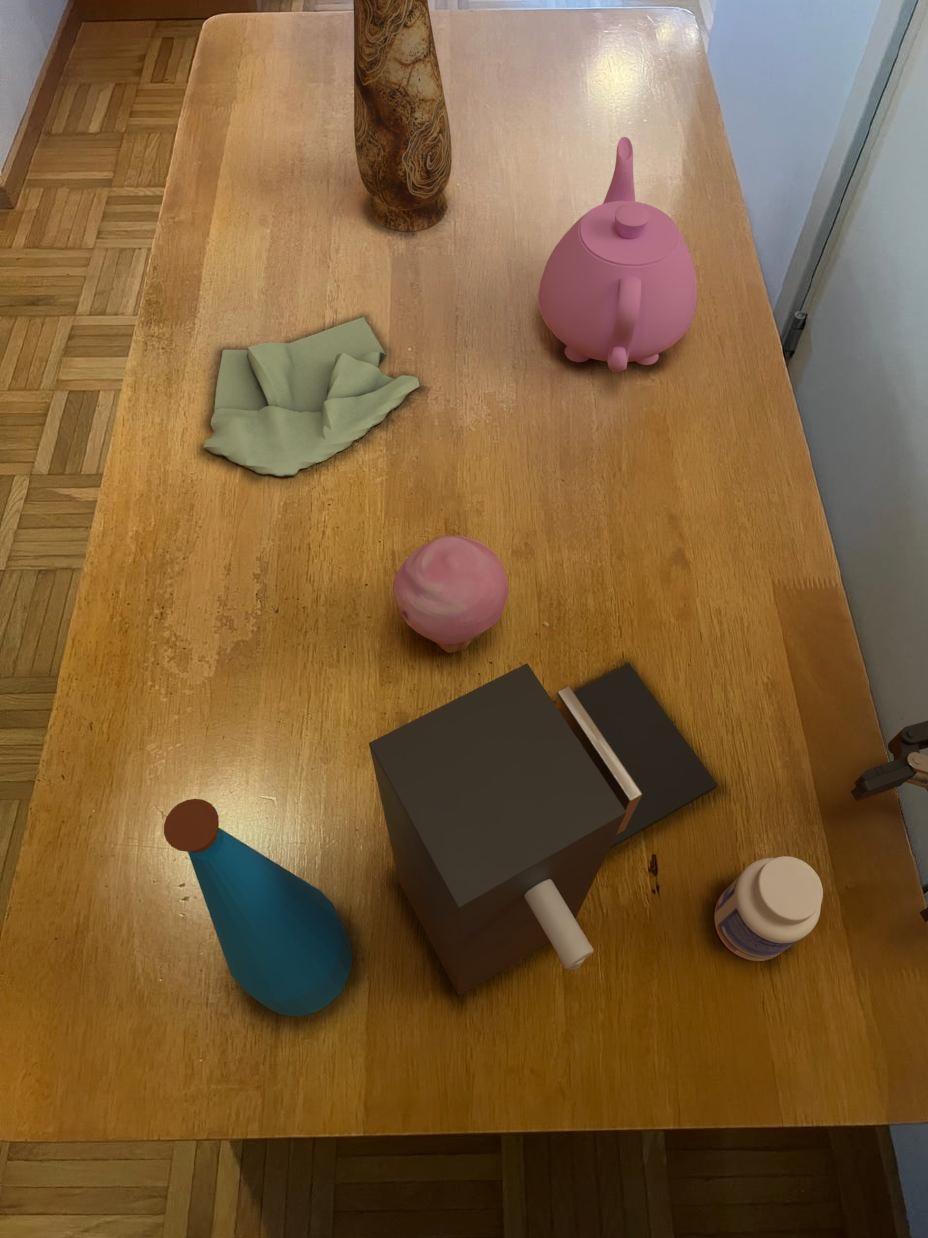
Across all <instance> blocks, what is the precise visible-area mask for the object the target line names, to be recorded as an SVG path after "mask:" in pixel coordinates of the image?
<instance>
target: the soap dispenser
mask: <svg viewBox="0 0 928 1238" xmlns="http://www.w3.org/2000/svg"><path fill="white" fill-rule="evenodd" d="M368 747H369V750H370V757H371V760H372V764H373V769H374V774H375V779H376V783H377V788H378V792H379V796H380V797H379V798H380V802H381V805H382V811H383V815H384V819H385V824H386V829H387V834H388V838H389V842H390V847H391V851H392V857H393V860H394V861H393V862H394V865H395V869H396V875H397V880H398V883H399V885H400V887H401V889H402V890H403V892H404V894H405V896H406V898H407V900H408V902H409V904H410V906H411V908H412V909H413V912H414V913H415V915H416V917H417V919H418V921H419V923H420V925H421V927H422V929H423V931H424V933H425V935H426V937H427V938H428V940H429V942H430V945H431V946H432V948H433V950H434V952H435V954H436V956H437V959H438V960H439V962H440V964H441V965H442V967H443V969H444V971H445V974H446V975H447V977H448V979H449V982H450V983H451V985H452V986H453V989H454V991H455V993H456V995H457V996H458V997H461V996H462V995H464V994H466V993H468V992H469V991H472V990H473V989H475V988H476V987H477V986H479V985H481V984H483V983H484V982H486V981H487V980H489V979H492V977H494V976H496V975H498V974H499V973H501V972H503V971H504V970H506V969H508V968H510V967H511V966H513V965H514V964H516V963H518V962H519V961H521V960H523V959H524V958H526V957H529V956H530V955H531V954H533V953H535V952H536V951H538V950H540V949H542V948H543V947H545V946H546V945H548V944H551V945H552V947H553V949H554V951H555V952H556V954H557V956H558V959H559V963H560V964H561V966H562V967H563V968H565V969H566V970H569V971H575V970H578V969H579V968H580V967H581V966H582V965H583V963H584V961H585V960H586V959H587V958H588V957H591V955H592V954H593V953H594V948H593V946H592V945H591V943H590V941H589V940H588V938H587V937H586V935H585V933H584V932H583V930H582V928H581V926H580V925H579V923H578V921H577V920H576V918H577V916H578V914H579V912H580V910H581V908H582V906H583V904H584V902H585V899H586V897H587V896H588V893H589V891H590V889H591V887H592V885H593V883H594V881H595V879H596V877H597V874H598V873H599V871H600V869H601V866H602V865H603V862H604V860H605V859H606V856H607V854H608V852H609V850H610V849H609V848H610V846H611V844H612V842H613V840H614V838H615V836H616V834H617V831H618V829H619V827H620V825H621V823H622V821H623V819H624V817H625V815H626V813H627V812H626V810H625V809H624V807H623V806H622V804H621V803H620V801H619V800H618V798H617V797H616V795H615V794H614V792H613V791H612V789H611V788H610V786H609V785H608V783H607V782H606V780H605V779H604V777H603V776H602V774H601V773H600V771H599V770H598V768H597V767H596V765H595V764H594V762H593V761H592V759H591V758H590V756H589V755H588V753H587V752H586V750H585V749H584V747H583V746H582V744H581V743H580V741H579V740H578V738H577V737H576V735H575V734H574V732H573V731H572V729H571V728H570V726H569V725H568V723H567V722H566V720H565V719H564V717H563V716H562V714H561V713H560V711H559V710H558V708H557V707H556V705H555V704H554V701H553V699H552V698H551V696H550V695H549V694H548V691H547V690H546V688H545V687H544V685H543V684H542V683H541V681H540V680H539V679H538V677H537V676H536V674H535V673H534V670H532V668H531V667H530V665H529V663H525V664H522V665H521V666H518V667H517V668H514V669H513V670H511V671H508V672H507V673H505V674H503V675H501V676H499V677H497V678H495V679H492V680H490V681H489V682H487V683H485V684H483V685H481V686H479V687H476V688H475V689H473V690H471V691H469V692H467V693H465V694H463V695H461V696H459V697H457V698H455V699H453V700H451V701H449V702H447V703H445V704H443V705H441V706H439V707H438V708H436V709H433V710H431V711H429V712H427V713H425V714H424V715H421V716H419V717H418V718H416V719H414V720H413V719H412V720H411V721H409V722H408V723H405V724H403V725H402V726H400V727H398V728H396V729H393V730H392V731H390V732H388V733H386V734H383V735H382V736H380V737H377V738H376V739H373V740H372V741H370V742H369V743H368Z"/></svg>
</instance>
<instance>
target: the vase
mask: <svg viewBox="0 0 928 1238" xmlns="http://www.w3.org/2000/svg"><path fill="white" fill-rule="evenodd" d="M352 1H353V136H354V147H355V156H356V164H357V168H358V172H359V177H360V179H361V182H362V184H363V187H364V188H365V190H366V192H367V193H368V194H369V196H370V197H371V201H370V204H369V210H370V214H371V216H372V218H373V220H374V221H376V222H377V223H378V224H379V225H381V226H382V227H385V228H387V229H391V230H395V231H399V232H414V231H421V230H426V229H428V228H430V227H432V226H434V225H436V224H438V222H440V221H441V219H443V217H444V216H445V215H446V213H447V212H448V207H449V206H448V205H449V204H448V198H447V196H446V195H445V193H444V191H445V190H446V188H447V186H448V184H449V180H450V178H451V172H452V161H453V152H452V151H453V150H452V135H451V127H450V120H449V114H448V109H447V103H446V98H445V92H444V85H443V81H442V76H441V70H440V65H439V59H438V55H437V49H436V43H435V38H434V31H433V27H432V20H431V15H430V8H429V2H428V0H352Z"/></svg>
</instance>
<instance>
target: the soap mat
mask: <svg viewBox="0 0 928 1238" xmlns="http://www.w3.org/2000/svg"><path fill="white" fill-rule="evenodd" d="M640 677H641V676H639V674H638V673H637V672H636V670H635V669H634V667H633V666H632V665H631V664H630V662H628V663H625V664H623V665H622V666H620V667H617V668H616V669H614V670H611V671H610V672H607V674H605V675H602V676H601V677H599V678H597V679H595V680H593V681H591V682H589V683H587V684H585V685H583V686H581V687H579V688H577V689H576V690H575V689H574V690H573V693H574V694H575V696H576V697H577V699H578V700H579V702H580V703H581V704H582V706H583V707H584V709H585V710H586V712H587V713H588V715H589V716H590V718H591V719H592V721H593V722H594V724H595V725H596V726H597V728H598V729H599V731H600V732H601V734H602V735H603V737H604V738H605V740H606V741H607V743H608V744H609V746H610V747H611V748H612V750H613V751H614V753H615V754H616V756H617V757H618V759H619V760H620V762H621V763H622V765H623V766H624V768H625V769H626V770H627V772H628V773H629V775H630V776H631V778H632V779H633V781H634V782H635V784H636V785H637V787H638V788H639V790H640V791H641V792H642V796H641V798H640V800H639V802H638V804H637V806H636V808H635V810H634V812H633V814H632V816H631V818H630V820H629V822H628V824H627V826H626V828H625V830H624V831H622V832H621V833H619V834H617V835H616V836H615V838H614V840H613V842H612V844H611V846H610V848H609V850H610V849H612V848H614V847H616V846H618V845H620V844H621V843H623V842H624V841H626V840H628V839H630V838H631V837H633V836H635V835H636V834H638V833H640V832H642V831H644V830H646V829H647V828H648V827H650V826H653V825H654V824H656V823H657V822H660V821H661V820H662V819H665V818H666V817H668V816H669V815H671V814H673V813H675V812H676V811H678V810H680V809H681V808H683V807H685V806H687V805H689V804H690V803H692V802H694V801H696V800H697V799H699V798H701V797H703V796H704V795H706V794H708V793H709V792H712V791H713V790H715V789H716V788H717V786H718V783H717V782H716V780H715V779H714V777H713V776H712V775H711V774H710V772H709V771H708V769H707V768H706V767H705V765H704V764H703V762H702V761H701V760H700V758H699V757H698V756H697V754H696V753H695V751H694V750H693V749H692V747H691V746H690V745H689V743H688V742H687V740H686V739H685V738H684V736H683V735H682V733H681V732H680V731H679V729H678V728H677V727H676V725H675V724H674V722H673V721H672V720H671V718H670V717H669V715H668V714H667V713H666V712H665V709H663V707H662V706H661V705H660V703H659V702H658V700H657V699H656V698H655V696H654V695H653V694H652V692H651V691H650V690H649V688H648V687H647V685H646V684H645V683H644V681H643V680H642V679H641V678H640ZM553 702H554V703H555V700H554V701H553Z"/></svg>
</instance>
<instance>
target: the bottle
mask: <svg viewBox="0 0 928 1238" xmlns="http://www.w3.org/2000/svg"><path fill="white" fill-rule="evenodd" d="M219 818H220V817H219V814H218V811H217V809H216V808H215V806H214V805H213V804H212V803H210V802H209V801H207V800H205V799H201V798H191V799H190V798H189V799H185V800H184V801H181V802H179V803H177V804H176V805H175V806H174V807H173V808H172V809H171V810H170V811H169V812H168V814H167V815H166V818H165V821H164V823H163V835H164V838H165V840H166V842H167V843H168V844H169V846H170V847H171V848H173V849H175V850H177V851H178V852H186V853H187V854H188V857H189V860H190V862H191V865H192V868H193V871H194V874H195V877H196V879H197V883H198V886H199V889H200V891H201V894H202V897H203V900H204V902H205V905H206V908H207V911H208V914H209V917H210V919H211V922H212V925H213V928H214V931H215V934H216V937H217V939H218V942H219V945H220V948H221V952H222V954H223V957H224V959H225V962H226V964H227V967H228V970H229V973H230V976H231V977H232V978H233V979H234V981H235V982H236V983H237V984H238V986H240V988H241V989H242V990H243V991H245V992H246V993H247V994H248V995H249V996H251V997H252V998H253V999H254V1000H256V1001H257V1002H258V1003H260V1004H261V1005H263V1006H264V1007H265V1008H268V1009H269V1010H271V1011H272V1012H274V1013H276V1014H278V1015H282V1016H288V1017H292V1018H297V1017H302V1016H308V1015H313V1014H315V1013H317V1012H320V1011H321V1010H323V1009H324V1008H326V1007H328V1006H329V1005H330V1004H332V1002H333V1001H334V1000H335V999H336V998H337V997H338V996H339V995H340V994H341V993H342V991H343V989H344V987H345V986H346V984H347V982H348V980H349V978H350V975H351V970H352V964H353V961H354V959H353V948H352V942H351V939H350V937H349V935H348V933H347V930H346V928H345V926H344V924H343V921H342V920H341V918H340V916H339V914H338V912H337V910H336V907H335V905H334V904H333V902H332V901H331V900H330V899H329V898H328V897H327V896H326V894H325V893H324V892H323V891H322V890H321V889H319V888H317V887H316V886H314V885H313V884H311V883H309V882H308V881H306V880H304V879H303V878H301V877H300V876H298V875H296V874H295V873H293V872H291V871H290V870H288V869H287V868H285V867H283V866H282V865H280V864H278V863H277V862H275V861H274V860H273V859H271V858H269V857H267V856H265V855H264V854H262V853H261V852H260V851H258V850H256V849H255V848H253V847H251V846H249V845H248V844H246V843H244V842H243V841H241V840H240V839H238V838H237V837H235V836H233V835H232V834H230V833H228V832H227V831H225V830H224V829H222V828H220V821H219V820H220V819H219Z"/></svg>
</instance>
